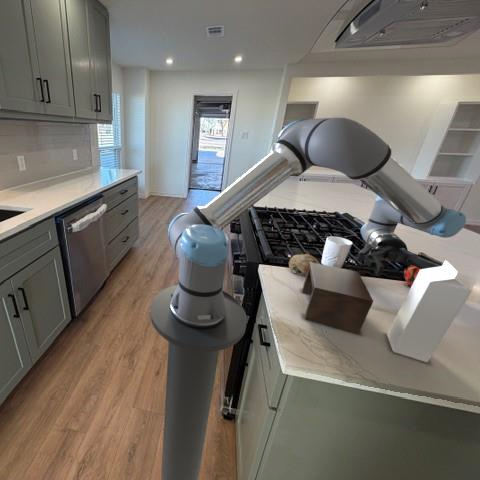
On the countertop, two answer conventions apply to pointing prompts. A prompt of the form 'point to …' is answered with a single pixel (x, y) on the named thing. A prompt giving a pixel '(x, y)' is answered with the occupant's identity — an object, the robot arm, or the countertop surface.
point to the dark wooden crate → (336, 297)
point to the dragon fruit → (411, 274)
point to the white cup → (335, 251)
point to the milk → (427, 312)
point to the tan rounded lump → (301, 263)
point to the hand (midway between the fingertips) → (415, 278)
